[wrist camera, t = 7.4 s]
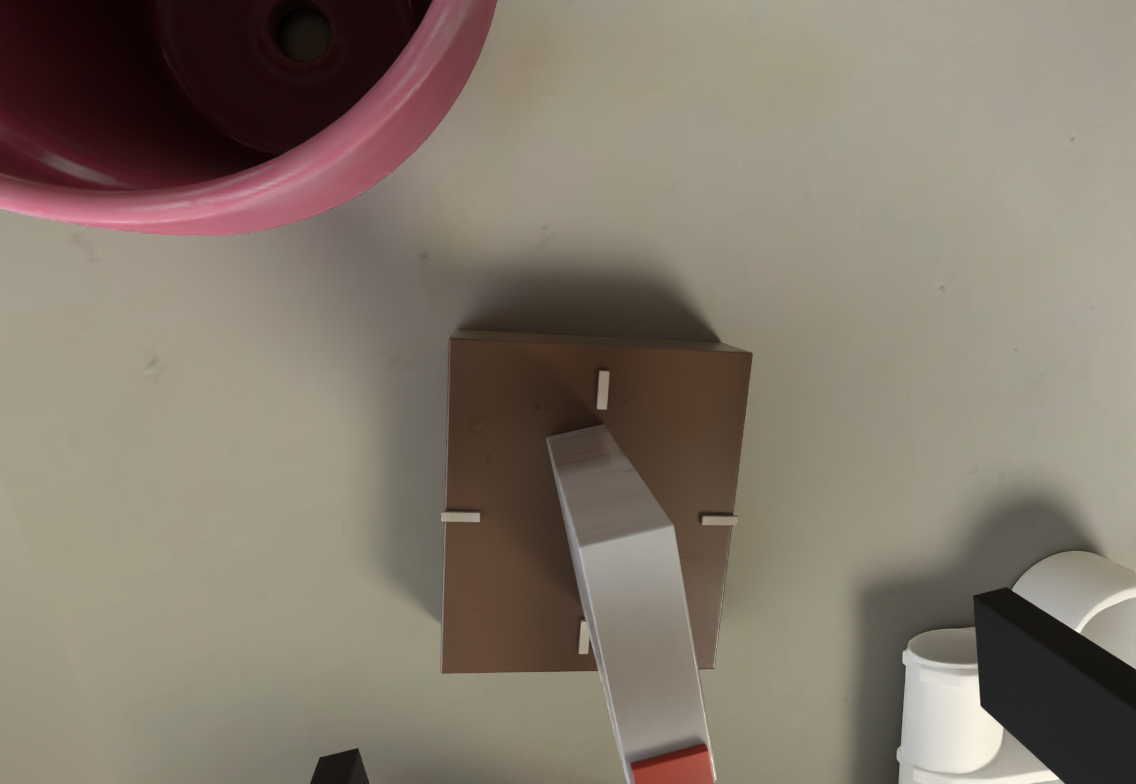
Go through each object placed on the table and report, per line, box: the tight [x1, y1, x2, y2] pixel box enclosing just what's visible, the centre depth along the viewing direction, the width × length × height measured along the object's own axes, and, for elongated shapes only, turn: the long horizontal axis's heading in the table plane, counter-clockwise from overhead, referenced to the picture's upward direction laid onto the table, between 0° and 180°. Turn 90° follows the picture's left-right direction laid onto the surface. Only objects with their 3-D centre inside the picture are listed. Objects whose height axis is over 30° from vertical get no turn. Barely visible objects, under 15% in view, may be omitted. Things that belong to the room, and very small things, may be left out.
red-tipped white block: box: [546, 424, 717, 784], centre depth 19 cm, size 7×2×9 cm, turn 11°
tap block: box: [440, 329, 752, 673], centre depth 25 cm, size 11×13×3 cm
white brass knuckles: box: [896, 551, 1136, 784], centre depth 30 cm, size 3×18×15 cm
